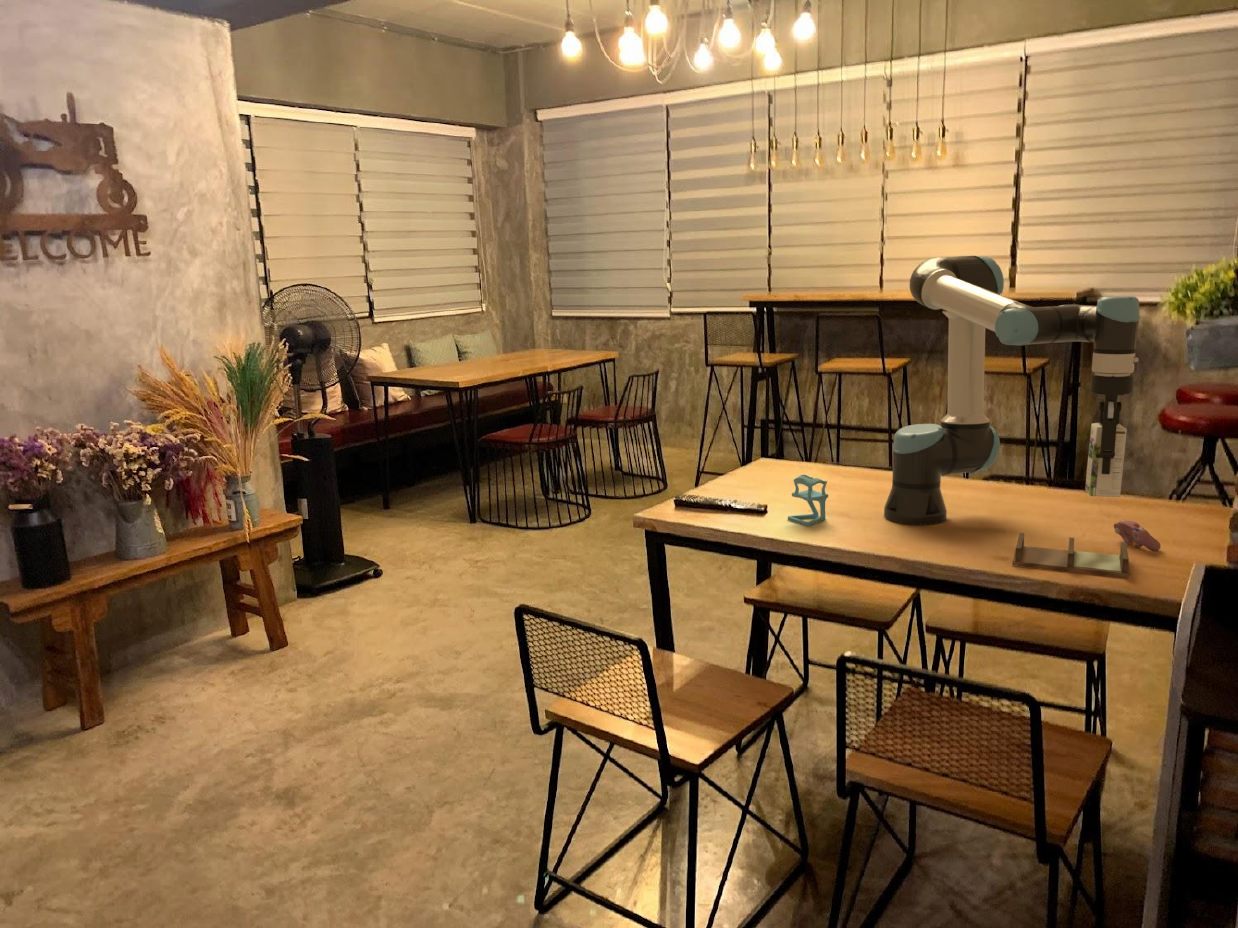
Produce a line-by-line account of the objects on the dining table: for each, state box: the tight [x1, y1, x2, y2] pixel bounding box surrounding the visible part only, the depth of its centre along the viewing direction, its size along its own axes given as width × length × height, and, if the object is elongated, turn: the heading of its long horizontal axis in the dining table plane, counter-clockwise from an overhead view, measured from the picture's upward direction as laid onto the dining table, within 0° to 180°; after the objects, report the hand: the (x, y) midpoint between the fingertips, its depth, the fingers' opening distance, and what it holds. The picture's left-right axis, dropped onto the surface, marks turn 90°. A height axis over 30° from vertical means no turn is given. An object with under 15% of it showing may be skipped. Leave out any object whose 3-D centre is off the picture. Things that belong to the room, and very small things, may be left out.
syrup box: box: [1085, 422, 1128, 498], centre depth 188 cm, size 6×6×14 cm
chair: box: [787, 474, 829, 527], centre depth 232 cm, size 8×8×12 cm
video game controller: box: [1113, 518, 1161, 552], centre depth 205 cm, size 10×5×7 cm, turn 6°
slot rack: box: [1011, 532, 1131, 579], centre depth 195 cm, size 22×12×4 cm, turn 63°
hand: (1103, 484), depth 189 cm, fingers closed on syrup box, 6 cm apart
